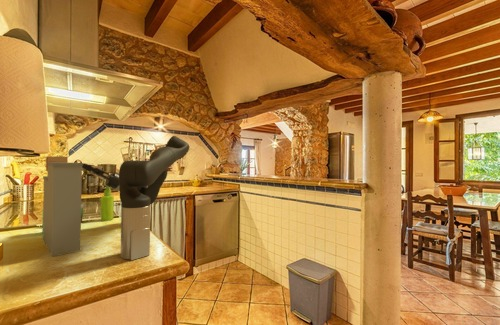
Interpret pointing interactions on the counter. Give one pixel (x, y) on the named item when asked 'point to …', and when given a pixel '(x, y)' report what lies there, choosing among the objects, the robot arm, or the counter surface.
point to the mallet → (63, 160)
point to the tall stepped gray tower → (62, 208)
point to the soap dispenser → (107, 205)
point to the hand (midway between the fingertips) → (82, 165)
